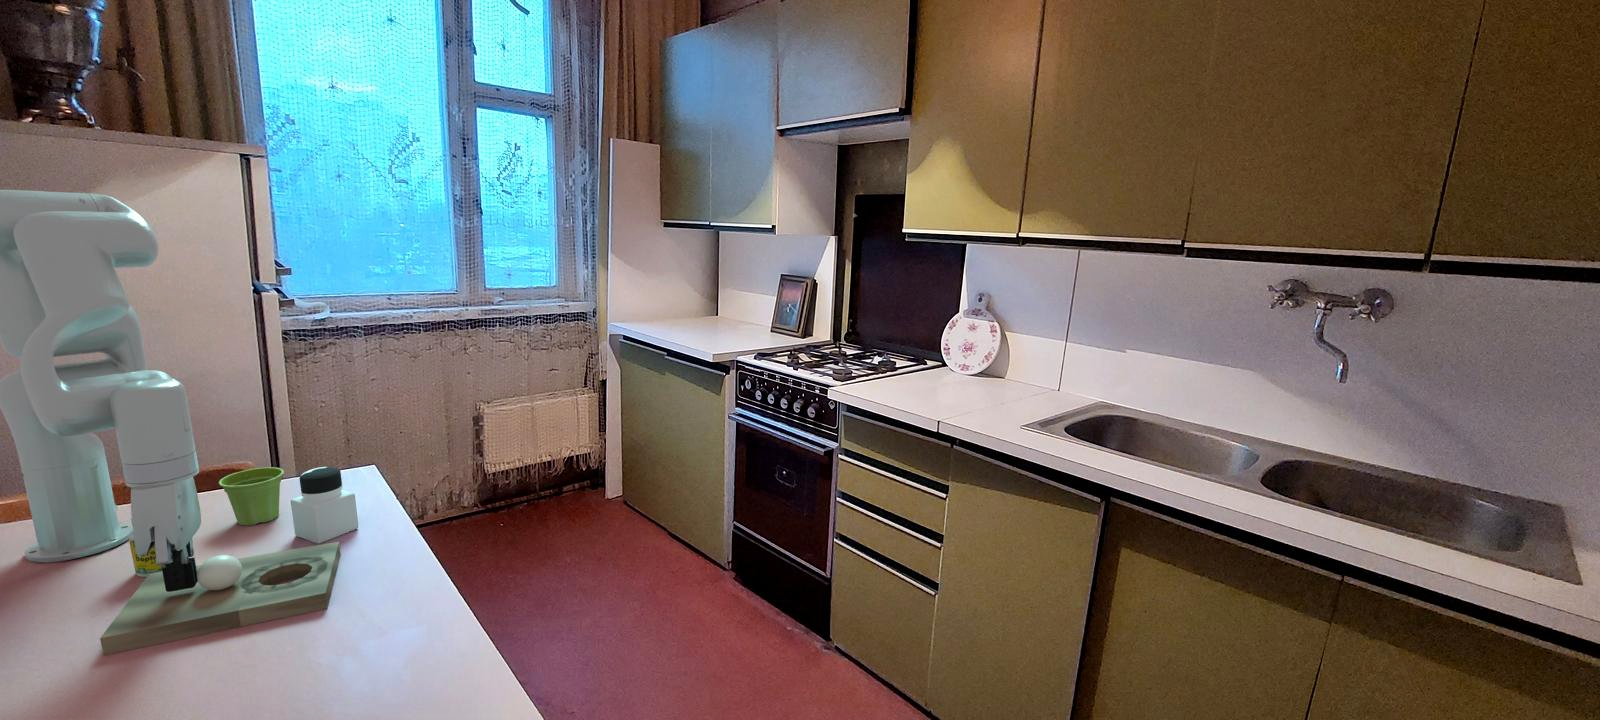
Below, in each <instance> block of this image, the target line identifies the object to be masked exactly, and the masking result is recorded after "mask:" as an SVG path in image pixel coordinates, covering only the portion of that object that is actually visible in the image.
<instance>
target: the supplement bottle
mask: <svg viewBox="0 0 1600 720" xmlns="http://www.w3.org/2000/svg"><path fill="white" fill-rule="evenodd" d="M130 520H131V524H132V517H131V518H130ZM128 538H129V539H128V543H129V546H130V552H131V557H132V562H133V567H134V571H135V574H136V576H137V577H141V578H147V576H148V575H149V574H152V573H158V572H162V568H161V565H157V562H156V549H155V545H154V546H153V548H152V549H151V550H150V551H149V552H148V553H147V555H145V556H144V557H140V556H138V555H137V554H136V550H135V542H134V534H133V530H131V531H130V533H129V535H128Z"/></svg>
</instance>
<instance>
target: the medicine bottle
mask: <svg viewBox="0 0 1600 720" xmlns="http://www.w3.org/2000/svg"><path fill="white" fill-rule="evenodd" d="M341 472H342V471H341V469H339V468H337V467H331V466H322V467H316V468H312V469H309V470H307V471H305V472H303V473H302V474H301V475H300V476H299V479H298V480H299V484H300V493H301V494H300V496H297V497H294V498H291V500H290V507H291V514H292V522H293V528H294V534H295V535H294V536H296V537H298V538H301V539H304V540H307V541H310V542H312V543H314V544H317V545H321V544H322V543H323V544H324V543H325V542H329V541H330V540H332V539H334V538H337V537H340V535H341V536H343V535H345V533H346V534H348V533H350V531H351V532H353V531H356V530H358V529H359V521H358V514H357V513H358V512H357V504H356V496H355V493H354V492H351V491H347V490H344V489H343V481H342V473H341ZM357 528H358V529H357ZM355 529H356V530H355ZM352 530H353V531H352Z"/></svg>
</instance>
